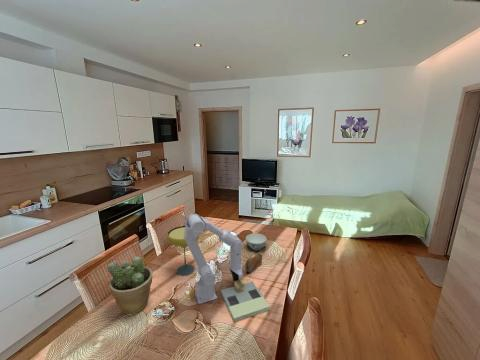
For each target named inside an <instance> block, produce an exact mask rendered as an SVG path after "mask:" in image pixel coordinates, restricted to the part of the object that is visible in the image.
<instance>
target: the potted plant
mask: <svg viewBox="0 0 480 360" xmlns="http://www.w3.org/2000/svg"><path fill="white" fill-rule="evenodd" d="M143 262H144V261H143V258H142V257H140V256H136V257H135V256H134V257H133V259H132V261H131V262H130V261H128V260H124V261H122V262H121V265H119V263H117V262H116V261H112V262H110V263H109V264H108V265H107V266H106V269H107V271H108V273H110V275H111V277H110V280H109V282H108V287H109V290H110V293H111V295H112V297H113V299H114V300H115V303H116V304H117V306H118V309H120V310H121V312H122V313H123V314H124V315H127V314H133V315H135V314H134V313H136V314H138V313H139V311H140V312H141V311H143V310H144V309H145V308H146V307H147V305H148V301H149V298H150V292H151V287H152V286H151V285H152V283H153V271H152V269H151V267H148V266H145V265H144V263H143ZM137 312H138V313H137Z"/></svg>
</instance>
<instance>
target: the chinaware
mask: <svg viewBox="0 0 480 360" xmlns="http://www.w3.org/2000/svg"><path fill="white" fill-rule="evenodd" d="M267 240H268V239H267V236H265V235H264V234H262V233H250V234H248V235H246V237H245V242H246V244H247V246H248V247H250V249H251V250H253V251H260V250H261V249H262V248H263V247H265V245H266V243H267Z"/></svg>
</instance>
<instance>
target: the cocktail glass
mask: <svg viewBox="0 0 480 360" xmlns="http://www.w3.org/2000/svg"><path fill="white" fill-rule="evenodd" d="M184 232H185V225H181V226H176V227H174V228H172V229H170V230H169V231H167V236H166V237H167V238H166V239H167V242H168V243H169V244H170V245H172V246H174V247H181V248H182V249H183V252H184V253H183V256H184V264H183V265H180V266H179V267H177V269H176V274H177V275H178V276H180V277H181V276H183V277H184V276H189V275H191V274H193V273H194V272H195V271H196V269H195V266H194V265H192V264H189V263H188V264H187V260H186V258H187V257H186V248H187V247H188V245H187V243H186V241H185V239H184ZM199 238H200V235H199V236H198V237H197V238H196V241H198V240H199Z"/></svg>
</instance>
